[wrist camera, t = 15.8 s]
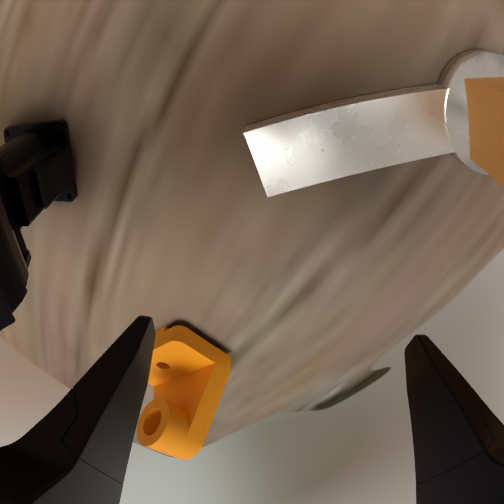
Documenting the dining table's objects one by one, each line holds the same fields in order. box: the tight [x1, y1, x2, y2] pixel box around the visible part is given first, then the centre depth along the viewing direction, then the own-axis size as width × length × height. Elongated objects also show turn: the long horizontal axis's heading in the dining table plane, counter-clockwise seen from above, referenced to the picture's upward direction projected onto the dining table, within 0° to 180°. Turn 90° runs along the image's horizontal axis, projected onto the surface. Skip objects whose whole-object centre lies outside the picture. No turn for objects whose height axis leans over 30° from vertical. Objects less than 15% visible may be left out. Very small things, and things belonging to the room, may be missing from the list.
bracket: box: [137, 325, 231, 460], centre depth 28 cm, size 11×7×12 cm, turn 130°
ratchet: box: [244, 49, 504, 197], centre depth 15 cm, size 22×9×5 cm, turn 109°
